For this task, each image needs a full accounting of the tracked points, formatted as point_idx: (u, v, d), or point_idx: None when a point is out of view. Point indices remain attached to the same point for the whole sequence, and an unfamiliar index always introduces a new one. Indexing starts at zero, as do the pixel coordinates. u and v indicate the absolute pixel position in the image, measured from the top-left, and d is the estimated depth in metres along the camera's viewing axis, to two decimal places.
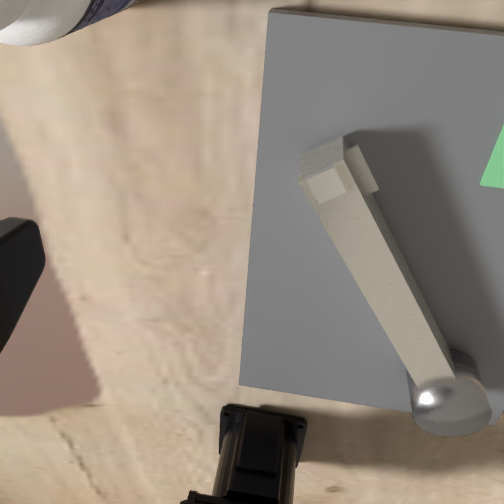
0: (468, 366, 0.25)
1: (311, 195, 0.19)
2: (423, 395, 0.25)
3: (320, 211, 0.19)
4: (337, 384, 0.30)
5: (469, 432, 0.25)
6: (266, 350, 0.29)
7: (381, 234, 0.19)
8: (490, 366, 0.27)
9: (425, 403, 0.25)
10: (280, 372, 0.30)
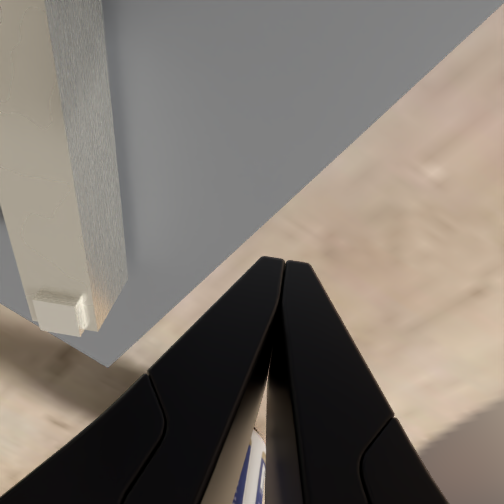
0: None
1: (87, 309, 0.13)
2: None
3: (83, 287, 0.12)
4: None
5: None
6: None
7: (3, 207, 0.11)
8: None
9: None
10: None
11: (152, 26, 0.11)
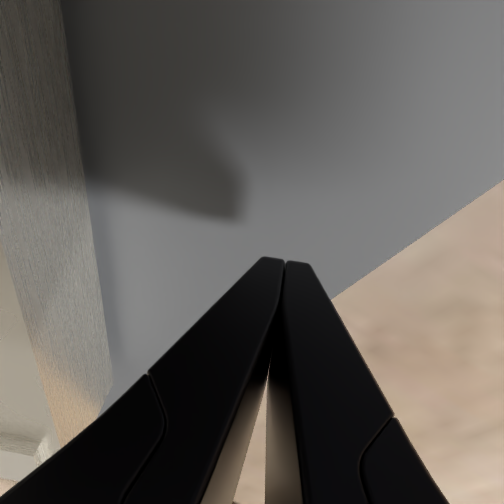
0: None
1: (53, 452, 0.09)
2: None
3: (46, 430, 0.09)
4: None
5: None
6: None
7: None
8: None
9: None
10: None
11: (142, 71, 0.08)
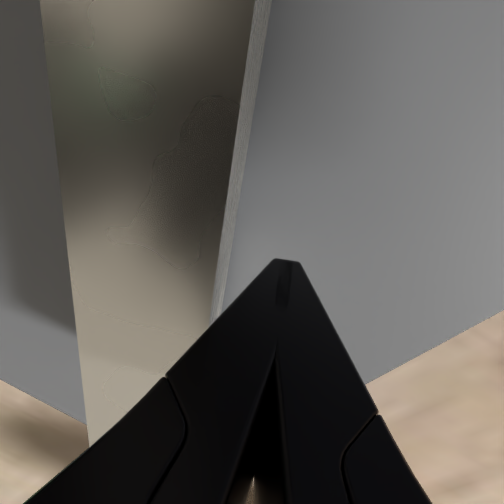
0: None
1: None
2: None
3: None
4: None
5: None
6: None
7: (82, 354, 0.07)
8: None
9: None
10: None
11: (353, 91, 0.07)
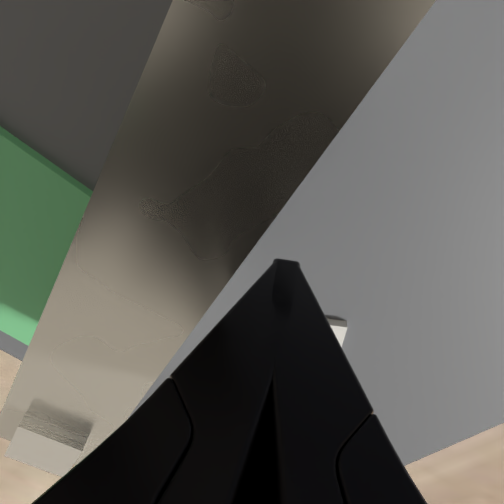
0: None
1: (93, 447, 0.09)
2: None
3: (107, 427, 0.08)
4: None
5: None
6: None
7: (45, 311, 0.07)
8: None
9: None
10: None
11: None
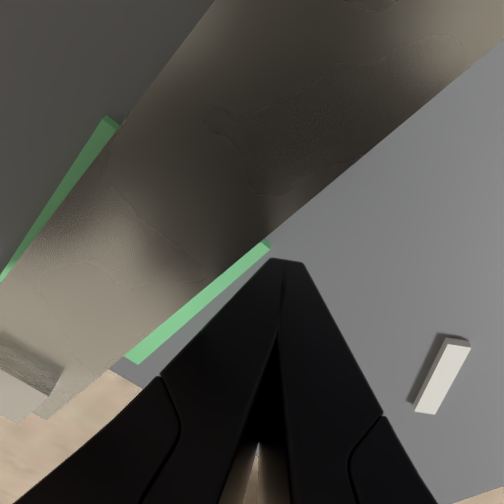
0: None
1: (58, 395, 0.08)
2: None
3: (82, 375, 0.07)
4: None
5: None
6: None
7: (46, 225, 0.06)
8: None
9: None
10: None
11: None
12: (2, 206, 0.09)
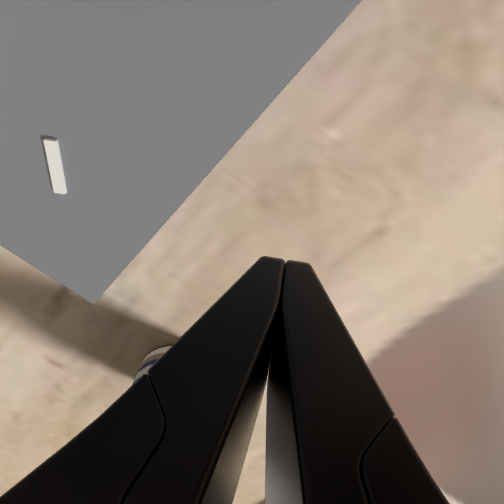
0: None
1: None
2: None
3: None
4: None
5: None
6: None
7: None
8: None
9: None
10: None
11: (115, 25, 0.16)
12: None
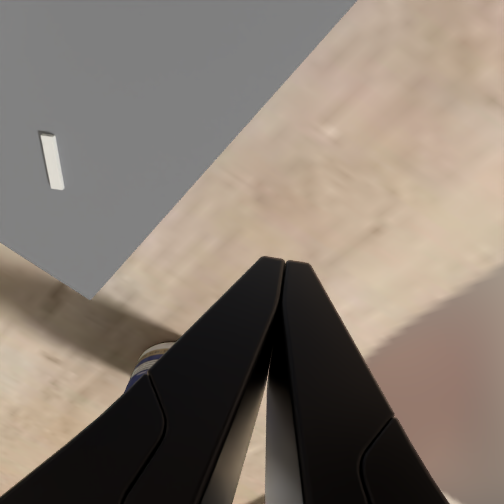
0: None
1: None
2: None
3: None
4: None
5: None
6: None
7: None
8: None
9: None
10: None
11: (113, 20, 0.15)
12: None
